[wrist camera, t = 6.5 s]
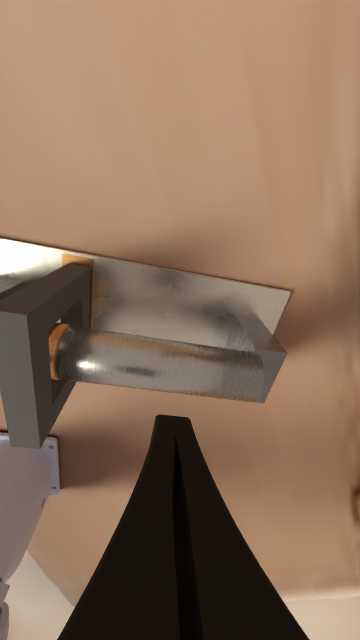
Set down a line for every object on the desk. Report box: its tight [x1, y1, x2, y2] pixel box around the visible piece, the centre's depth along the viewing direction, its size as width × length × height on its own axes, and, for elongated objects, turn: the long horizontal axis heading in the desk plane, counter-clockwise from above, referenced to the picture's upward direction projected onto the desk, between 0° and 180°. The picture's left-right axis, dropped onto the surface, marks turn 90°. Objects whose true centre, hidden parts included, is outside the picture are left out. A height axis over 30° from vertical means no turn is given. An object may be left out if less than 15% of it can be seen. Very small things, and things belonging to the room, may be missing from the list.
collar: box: [0, 263, 91, 449], centre depth 13 cm, size 1×8×8 cm, turn 169°
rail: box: [0, 237, 291, 403], centre depth 14 cm, size 22×9×8 cm, turn 79°
